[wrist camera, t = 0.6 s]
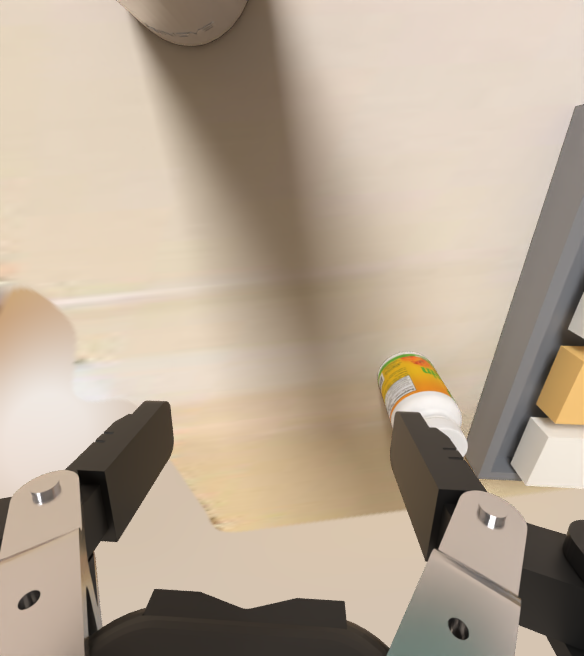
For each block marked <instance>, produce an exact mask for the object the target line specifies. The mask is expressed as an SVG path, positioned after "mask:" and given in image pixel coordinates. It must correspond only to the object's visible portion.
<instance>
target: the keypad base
mask: <svg viewBox="0 0 584 656" xmlns="http://www.w3.org/2000/svg"><path fill="white" fill-rule="evenodd" d="M583 292H584V104H583V105H579V106H576V107H575V110H574V113H573V116H572V119H571V122H570V125H569V128H568V131H567V134H566V138H565V141H564V144H563V147H562V150H561V153H560V156H559V159H558V162H557V165H556V168H555V171H554V174H553V177H552V180H551V183H550V187H549V190H548V193H547V196H546V199H545V202H544V205H543V208H542V211H541V214H540V217H539V220H538V223H537V226H536V229H535V232H534V236H533V239H532V242H531V245H530V248H529V251H528V254H527V257H526V260H525V263H524V266H523V269H522V272H521V275H520V278H519V281H518V285H517V288H516V291H515V294H514V297H513V300H512V303H511V306H510V309H509V312H508V315H507V318H506V321H505V324H504V327H503V330H502V333H501V337H500V340H499V343H498V346H497V349H496V352H495V355H494V358H493V361H492V364H491V367H490V370H489V373H488V376H487V379H486V382H485V386H484V389H483V392H482V395H481V398H480V401H479V404H478V407H477V410H476V413H475V416H474V419H473V422H472V425H471V428H470V431H469V435H468V438H467V443H468V449H467V452H466V454H465V456H466V458H467V460H468V462H469V464H470V465H471V467H472V469H473V471H474V473H475V475H476V476H477V478H478V479H497V480H517V481H522V480H521V478H520V477H519V475H518V474H517V472H516V471H515V469H514V468H513V466H512V465H511V461H512V459H513V457H514V454H515V452H516V450H517V447H518V445H519V443H520V440H521V438H522V436H523V433H524V431H525V429H526V426H527V424H528V422H529V419H530V417H541V418H549V417H548V416H547V415H546V414H545V413H544V412H543V411H542V410H541V409H540V408H539V407H538V406H537V405H536V403H537V400H538V398H539V396H540V393H541V391H542V389H543V386H544V384H545V382H546V379H547V377H548V375H549V372H550V370H551V367H552V365H553V363H554V360H555V358H556V356H557V353H558V351H559V349H560V346H584V339H583V338H582V337H580V336H578V335H577V334H575V333H573V332H572V331H570V330H568V327H569V325H570V323H571V320H572V318H573V316H574V313H575V311H576V309H577V306H578V304H579V302H580V299H581V297H582V295H583Z"/></svg>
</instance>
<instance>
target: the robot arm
mask: <svg viewBox="0 0 584 656" xmlns="http://www.w3.org/2000/svg"><path fill="white" fill-rule="evenodd" d="M116 1H118V2H119V3H120V4H121V5H122V6H123V7H124V8H125V9H126V10H128V11H129V12H130V13H131V14H132V15H133V16H134V17H135V18H137V19H138V20H139V21H140V22H141V23H142V24H143V25H144V26H145V27H147V28H148V29H149V30H150V31H152V32H153V33H155V34H156V35H158V36H159V37H161V38H162V39H164V40H167V41H169V42H172V43H174V44H177V45H185V46H197V45H203V44H207V43H209V42H211V41H213V40H215V39H218V38H219V37H220V36H222V35H223V34H224V33H225V32H227V31H228V30H229V29H230V28H231V27H232V26H233V24H234V23H235V22H236V20H237V19H238V18H239V16H240V15H241V13H242V11H243V9H244V7H245V5H246V3H247V1H248V0H116ZM173 444H174V437H173V427H172V418H171V408H170V404H169V403H168V402H167V401H145V402H143V403H142V404H141V405H140V406H139V407H138V408H137V409H136V411H135V412H134V413H133V414H128V415H126V416H124V417H123V418H121V419H119V420H117V421H115V422H114V423H113V424H112V425H111V426H110V427H109V428H108V429H107V430H106V431H105V432H104V434H102V435H101V436H100V437H99V438H97V439H96V442H93V443H92V444H91V445H90V446H89V447H88V448H87V449H86V450H85V451H84V452H83V453H82V454H81V455H80V456H79V457H78V458H77V459H76V460H75V461H74V462H73V463H72V464H71V465H69V467H67V468H66V469H65V470H60V471H54V472H50V473H46V474H44V475H41V476H39V477H37V478H35V479H33V480H31V481H29V482H28V483H26V484H25V485H23V486H22V487H21V488H20V489H19V490H18V491H16V493H15V494H14V495H13V496H12V497H8V498H2V499H0V656H514V655H515V648H516V640H517V632H518V625H520V626H523V627H525V628H528V629H530V630H533V631H535V632H538V633H540V634H543V635H546V636H547V639H548V641H549V642H550V644H551V646H552V648H553V650H554V651H555V653H556V655H557V656H584V520H578V521H574V522H572V523H571V524H570V526H569V529H568V532H567V535H566V534H562V533H559V532H555V531H552V530H549V529H545V528H542V527H538V526H535V525H532V524H529V523H526V521H525V519H524V517H523V516H522V515H521V513H520V512H519V511H518V510H517V509H516V508H515V507H514V506H512V505H511V504H510V503H509V502H507V501H505V500H504V499H502V498H500V497H498V496H496V495H494V494H491V493H488V492H487V491H486V489H485V488H484V487H483V485H482V484H481V482H480V481H479V479H478V478H477V477H476V475H475V474H474V472H473V471H472V469H471V468H470V467H469V465H468V464H467V462H466V461H465V460H463V457H462V455H461V454H460V452H459V451H458V450H457V448H456V447H455V445H454V444H453V442H452V441H451V439H450V438H449V437H448V436H447V435H445V434H444V433H443V432H441V431H440V430H439V429H437V428H436V427H429V426H428V425H427V423H426V421H425V420H424V418H423V417H422V415H421V414H420V413H419V412H405V411H397V412H396V413H395V416H394V423H393V431H392V440H391V448H390V460H391V466H392V470H393V472H394V475H395V478H396V481H397V483H398V486H399V489H400V492H401V495H402V497H403V500H404V503H405V506H406V508H407V511H408V514H409V517H410V519H411V522H412V525H413V528H414V531H415V533H416V536H417V539H418V542H419V544H420V547H421V550H422V553H423V555H424V558H425V561H427V564H426V567H425V569H424V571H423V573H422V576H421V578H420V580H419V582H418V585H417V587H416V589H415V592H414V594H413V596H412V599H411V601H410V603H409V605H408V608H407V610H406V612H405V615H404V617H403V619H402V621H401V624H400V626H399V628H398V631H397V633H396V635H395V637H394V640H393V642H392V644H391V647H390V648H389V647H388V646H387V645H385V644H384V643H383V642H382V641H381V640H380V639H379V638H377V637H376V636H374V635H373V634H372V633H370V632H369V631H367V630H366V629H364V628H362V627H360V626H358V625H356V624H354V623H352V622H349V621H347V620H346V612H345V602H344V601H332V600H317V599H302V598H296V599H292V600H287V601H282V602H278V603H274V604H270V605H265V606H260V607H256V608H251V609H243V608H240V607H237V606H235V605H232V604H229V603H227V602H224V601H222V600H220V599H217V598H215V597H212V596H209V595H207V594H204V593H202V592H193V591H178V590H162V589H154V591H153V593H152V596H151V598H150V600H149V603H148V605H147V607H146V608H144V609H140V610H137V611H134V612H131V613H128V614H126V615H124V616H122V617H120V618H118V619H116V620H114V621H112V622H111V623H109V624H107V625H106V626H104V627H102V620H101V609H100V599H99V589H98V579H97V568H96V558H95V553H94V550H95V548H96V547H97V546H98V544H99V543H100V541H109V542H117V541H118V540H119V538H120V537H121V535H122V533H123V532H124V530H125V529H126V527H127V526H128V524H129V522H130V521H131V519H132V517H133V516H134V514H135V513H136V511H137V510H138V508H139V506H140V505H141V503H142V501H143V500H144V498H145V497H146V495H147V493H148V492H149V490H150V489H151V487H152V485H153V484H154V482H155V481H156V479H157V477H158V476H159V474H160V472H161V471H162V469H163V468H164V466H165V464H166V463H167V461H168V460H169V458H170V456H171V453H172V450H173Z"/></svg>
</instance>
